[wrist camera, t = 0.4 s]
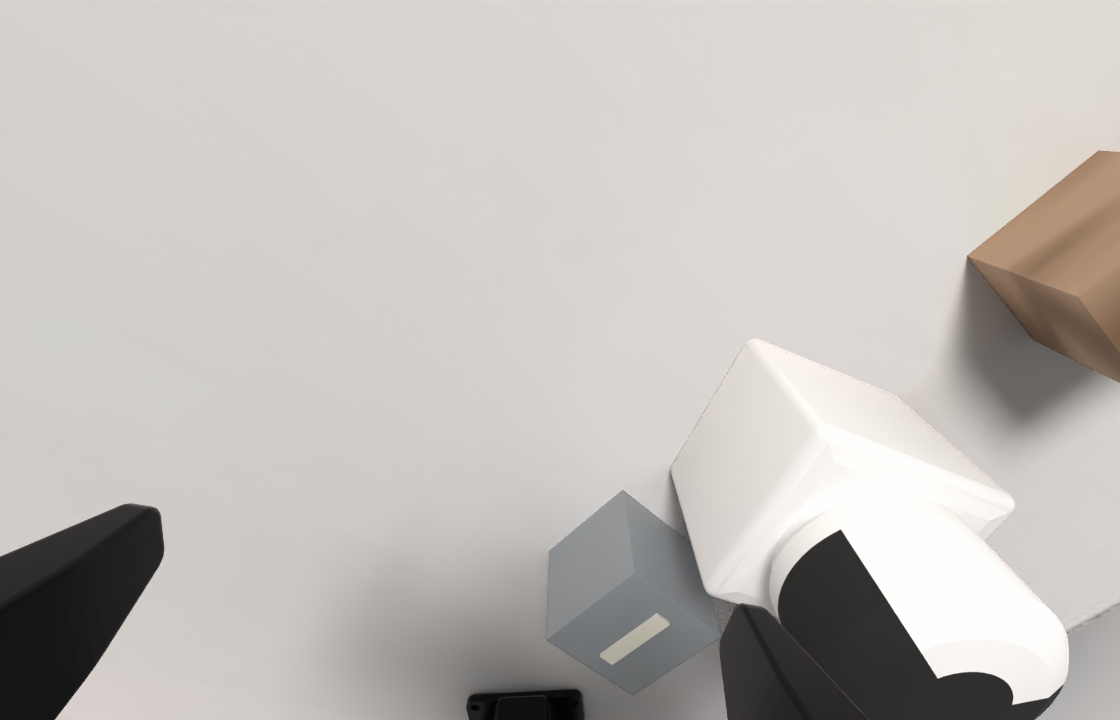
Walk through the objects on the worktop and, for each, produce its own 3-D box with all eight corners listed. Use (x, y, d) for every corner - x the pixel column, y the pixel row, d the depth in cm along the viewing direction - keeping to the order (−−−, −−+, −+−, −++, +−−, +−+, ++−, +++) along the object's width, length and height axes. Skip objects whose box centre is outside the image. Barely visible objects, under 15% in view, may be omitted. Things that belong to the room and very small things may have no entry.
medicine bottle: (802, 518, 26) (977, 819, 15) (666, 469, 25) (745, 756, 14) (897, 393, 23) (1197, 652, 12) (748, 332, 22) (928, 555, 11)
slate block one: (695, 545, 27) (723, 639, 22) (621, 600, 28) (633, 699, 24) (622, 488, 25) (635, 575, 21) (549, 549, 27) (546, 643, 22)
